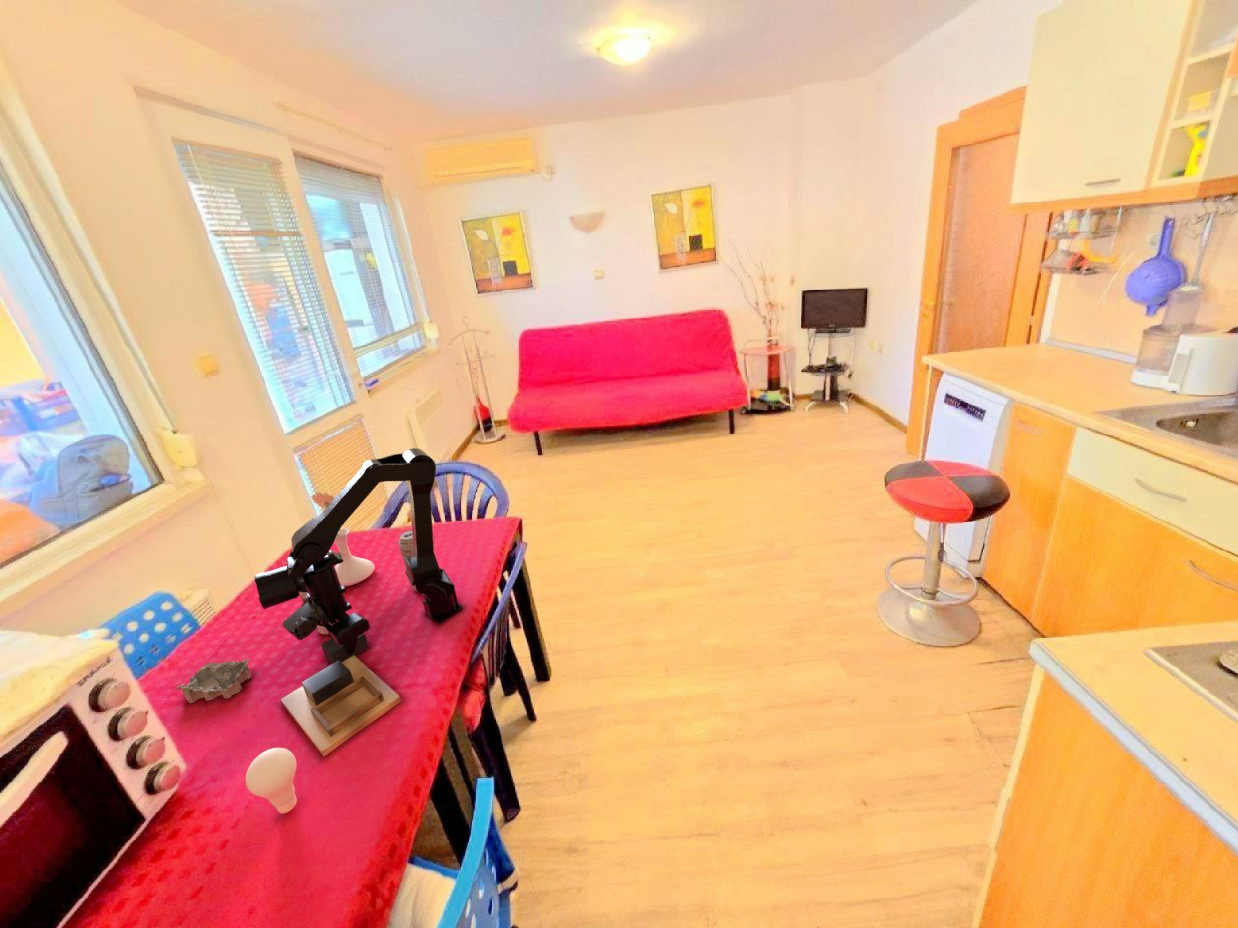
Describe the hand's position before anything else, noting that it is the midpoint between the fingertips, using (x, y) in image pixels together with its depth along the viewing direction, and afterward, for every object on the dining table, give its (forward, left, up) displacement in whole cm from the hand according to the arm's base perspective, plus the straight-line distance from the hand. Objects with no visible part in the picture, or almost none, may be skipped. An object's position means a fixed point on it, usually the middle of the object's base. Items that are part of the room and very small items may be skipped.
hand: (346, 648), depth 108 cm
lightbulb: (+21, +28, -1) cm, 35 cm away
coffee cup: (-2, -12, -1) cm, 13 cm away
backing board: (+7, +13, -1) cm, 15 cm away
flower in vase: (-14, -29, -1) cm, 32 cm away
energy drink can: (-23, -8, -1) cm, 24 cm away
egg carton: (+20, -12, -1) cm, 23 cm away
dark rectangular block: (0, 0, -1) cm, 1 cm away
